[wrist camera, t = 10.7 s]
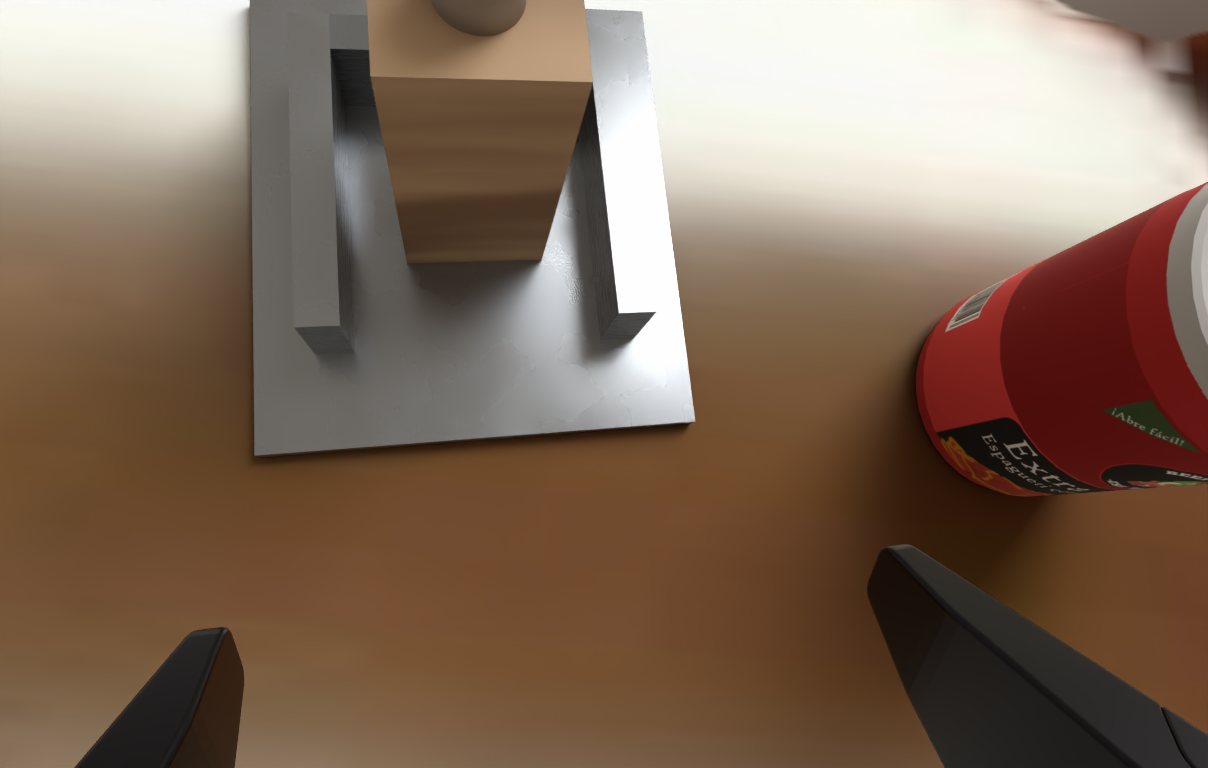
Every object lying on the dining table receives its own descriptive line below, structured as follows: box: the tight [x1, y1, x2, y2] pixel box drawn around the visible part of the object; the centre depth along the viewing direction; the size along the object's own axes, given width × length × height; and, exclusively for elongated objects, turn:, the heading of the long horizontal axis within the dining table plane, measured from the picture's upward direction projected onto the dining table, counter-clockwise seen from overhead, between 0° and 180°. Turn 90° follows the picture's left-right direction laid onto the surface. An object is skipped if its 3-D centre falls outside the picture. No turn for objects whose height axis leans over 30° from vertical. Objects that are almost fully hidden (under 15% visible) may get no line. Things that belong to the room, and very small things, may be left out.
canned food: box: [916, 182, 1208, 497], centre depth 22 cm, size 8×8×11 cm
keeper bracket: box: [250, 0, 695, 457], centre depth 23 cm, size 16×14×4 cm
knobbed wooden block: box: [367, 0, 593, 263], centre depth 19 cm, size 4×4×12 cm
